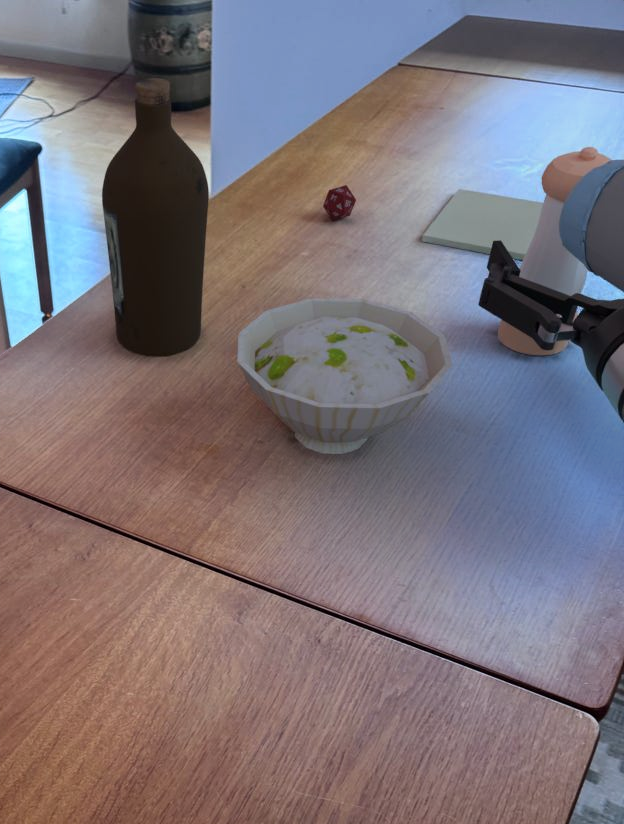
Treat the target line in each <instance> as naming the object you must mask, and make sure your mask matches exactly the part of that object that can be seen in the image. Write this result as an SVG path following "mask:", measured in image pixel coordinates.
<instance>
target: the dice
mask: <svg viewBox="0 0 624 824" xmlns="http://www.w3.org/2000/svg"><path fill="white" fill-rule="evenodd" d="M356 202H357V198H356V197H355V196H354V195H353V193H352V191H351V189H350V188H349V186H348V185H347V184H345V185H341V186H338V187H335V188H332V189H329V190H328V192H327V195H326V197H325V199H324V202H323V205H322V207H323V210H325V212H326V213H327V215H328V216H329V218H330V220H331V221H332V222H334V221H337V220H341V219H344V218H348V217H350V216H351V214H352V211H353V209H354V207H355V204H356Z"/></svg>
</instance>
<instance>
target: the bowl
mask: <svg viewBox="0 0 624 824" xmlns="http://www.w3.org/2000/svg"><path fill="white" fill-rule="evenodd" d="M237 334H238V335H237V364H238V366H239V368H240V370H241V373H242V374H243V376H244V378H245V380H246V382H247V384H248V386H249V388H250V390H251V391H252V392H253V393H254V394H255V395H256V396H257V397H258V398H259V399H260V401H262V402H263V404H265V406H267V407H268V408H269V410H271V412H272V413H273V414H274V415H275V416H276V417H278V418H279V420H280V421H281V422H283V423H284V424H285V425H286V426H287V428H288V429H290V430H291V432H294V438H295V439H296V440H297V441H298V442H299V443H300V444H301V445H302V446H303V447H304V448H305V449H308V450H312V451H314V452H317V453H320V454H325V455H328V454H329V455H344V454H347V453H350V452H353V451H356V450H359V449H360V448H361V447H362V446H363V445H364V444H365V443H366V442H367V441H368V439H369V438H370V437H373V436H376V435H379V434H382V433H383V432H385V431H387V430H388V429H390V428H391V427H394V426H395V425H397V424H398V423H400V422H402V421H403V420H405V419H406V418H409V417H410V416H411V415H412V414H413V412H414V411H415V410H416V409H417V408H418V406H420V404H421V403H422V402H423V401H424V400H425V399H426V397H427V396H428V395H429V394H430V393H431V392H432V390H433V389H434V388H435V387H436V385H438V384H439V382H440V381H441V380H442V379H443V378H444V376H445V375H446V374H447V373H448V372H449V371H450V369H451V368H452V367H453V366H454V364H453V361H452V357H451V353H450V349H449V345H448V342H447V338H446V335H444V334H443V333H442V332H440V331H439V330H437V329H436V328H435V327H434V326H432V325H430V324H429V323H428V322H426V321H425V320H424V319H422V318H421V317H419V316H418V315H416V314H415V313H414V312H412V311H409V310H406V309H401V308H398V307H395V306H390V305H387V304H384V303H379V302H376V301H371V300H368V299H365V298H313V297H312V298H306V299H303V300H300V301H299V300H298V301H296V302H292V303H289V304H285V305H282V306H278V307H274V308H270V309H268V310H264V311H263V312H262V313H261V314H259V315H258V316H257V317H256V318H255V319H254V320H252V322H249V324H247V326H245V327H244V328H243V329H242V330H241V331H239V333H237Z"/></svg>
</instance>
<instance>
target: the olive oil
mask: <svg viewBox="0 0 624 824" xmlns="http://www.w3.org/2000/svg"><path fill="white" fill-rule="evenodd" d="M170 92H171V83H170V81H169V80H167V79H164V78H159V77H149V78H143V79H141V80H139V81H137V82H136V83H135V94H136V98H135V99H134V110H135V111H134V113H135V128H134V130H133V132H132V133H131V134H130V136H129V137H128V139H126V141H125V142H124V143H123V144H122V145H121V147H120V148H119V149H118V150H117V152H116V153H115V154H114V156H113V157H112V159H111V160H110V162H109V163H108V165H107V167H106V170H105V174H104V177H103V182H102V190H101V199H102V200H101V203H102V204H101V205H102V211H103V220H104V221H103V222H104V229H105V237H106V245H107V246H106V247H107V255H108V262H109V264H108V265H109V272H110V273H109V274H110V281H111V290H112V301H113V309H114V311H113V312H114V320H115V321H114V322H115V332H116V338H117V341H118V343H119V344H120V345H121V346H122V347H124V348H125V349H126V350H128V351H130V352H133V353H135V354H138V355H143V356H151V357H164V356H172V355H176V354H179V353H182V352H185V351H187V350H188V349H190V348H192V347H193V346H194V345H195V344H196V343H197V342H198V341H199V339H200V336H201V331H202V312H203V311H202V308H203V290H204V289H203V285H204V272H205V270H204V269H205V258H206V257H205V256H206V240H207V225H208V213H209V198H210V197H209V196H210V195H209V194H210V192H209V183H208V179H207V174H206V172H205V168H204V166H203V163H202V161H201V160H200V158H199V156H197V154H196V153H195V152H194V151H193V149H192V148H191V147H190V146H189V145H188V144H187V143H186V142H185V140H183V138H182V137H181V136H180V135H179V134H178V133H177V132H176V130H175V129H174V127H173V126H172V98H171V96H170Z"/></svg>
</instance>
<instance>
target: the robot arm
mask: <svg viewBox="0 0 624 824" xmlns="http://www.w3.org/2000/svg"><path fill="white" fill-rule="evenodd" d="M611 160H612V161H609V162H607V163H606V164H604V165H601V166H599V167H596V168H594V169H592V170H591V171H589V172H588V173H587V174H586V175H585V176H584V177H583V178H582V179H581V180H580V181H579V182H578V183H577V184H576V185H575V186H574V188H573V189H572V191H571V193H570V194H569V196H568V197H567V199H566V201H565V203H564V206H563V208H562V211H561V215H560V220H559V234H560V238H561V240H562V245H563V246H564V247H565V248H566V249H567V250H568V251H569V252H570V253H571V254H572V255H573V256H575V257H576V258H577V259H578V260H579V261H580V262H582V263H583V264H584V265H585V267H586V269H587V272H589V273H592V274H593V275H594V276H595V277H599V278H601V279H603V280H604V281H606V282H607V283H608V284H610V285H612V286H614V287H615V288H616V289H618V290H619V291H621V292H623V293H624V159H611ZM519 268H520V266H519V265H518V264H517V263H516V261H515V259H513V258H512V257H511V255H510V254H509V252H508V251H507V249H506V247H505V246H504V244H503V243H502V241H501V240H499V241H493V244H492V248H491V252H490V254H489V257H488V260H487V264H486V269H487V271H488V275H487V277H485V278H484V280H483V282H482V283H483V284H482V287H481V292H480V295H479V300H478V302H477V303H478V304H477V305H478V306H479V307H480V308H481V309H483V310H485V311H486V312H487V313H489V314H491V315H493V316H495V317H496V318H498V319H499V320H500V321H501V320H503V321H505V322H506V323H508V324H510V325H511V326H513V327H514V328H516V329H518V330H519V331H521V332H523V333H524V334H526V335H528V336H529V337H531V338H532V339H533V340H534V341H535V342H536V343H537V345H538V346H539V347H540V348H541V349H543V350H552V349H553V348H554V345H555V342H556V341H564V340H569V341H571V343H572V344H574V345H575V346H577V347H579V348H580V349H581V351H582V354H583V355H582V356H583V359H584V363H585V366H586V369H587V371H588V372H589V373H590V375H591V377H592V378H593V380H594V381H595V383H596V384H597V386H598V387H599V389H600V390H601V391H602V393H603V394H604V395H605V397H606V398H607V400H608V402H609V403H610V405H611V406H612V408H613V409H614V411H615V412H616V414H617V415H618V417H619V418H620V420H621V421H622V423H623V424H624V298H615V299H611V300H608V299H596V298H593V297H591V296H589V295H585V294H583V293H581V294H580V293H575V294H573V295H572V296H569V295H567V294H564V293H561V292H559V291H556V290H553V289H551V288H548V287H545V286H542V285H540V284H537V283H534V282H532V281H529V280H526V279H524V278H521V277H519V275H520V271H521V270H520V269H519ZM578 308H581V310H580V312H578V314H577V317H576V319H575V320H574V322H573V319H574V316H575V313H576V310H577V311H578Z"/></svg>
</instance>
